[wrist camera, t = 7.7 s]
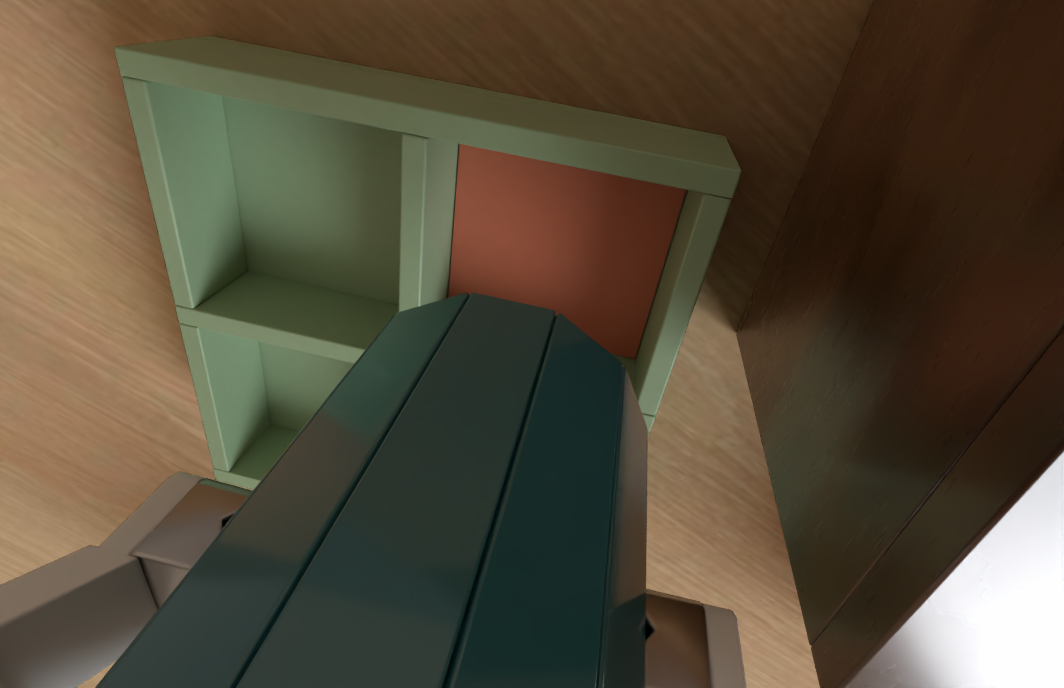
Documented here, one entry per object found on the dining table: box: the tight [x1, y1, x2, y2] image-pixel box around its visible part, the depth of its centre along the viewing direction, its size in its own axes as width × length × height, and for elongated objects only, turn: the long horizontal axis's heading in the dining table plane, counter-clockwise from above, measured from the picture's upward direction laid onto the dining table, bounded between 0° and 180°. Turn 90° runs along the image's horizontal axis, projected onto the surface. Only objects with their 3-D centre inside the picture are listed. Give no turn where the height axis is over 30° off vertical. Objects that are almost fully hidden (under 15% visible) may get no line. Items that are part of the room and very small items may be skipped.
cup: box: [95, 292, 648, 688], centre depth 9 cm, size 7×7×9 cm
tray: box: [114, 36, 742, 490], centre depth 23 cm, size 18×18×4 cm
